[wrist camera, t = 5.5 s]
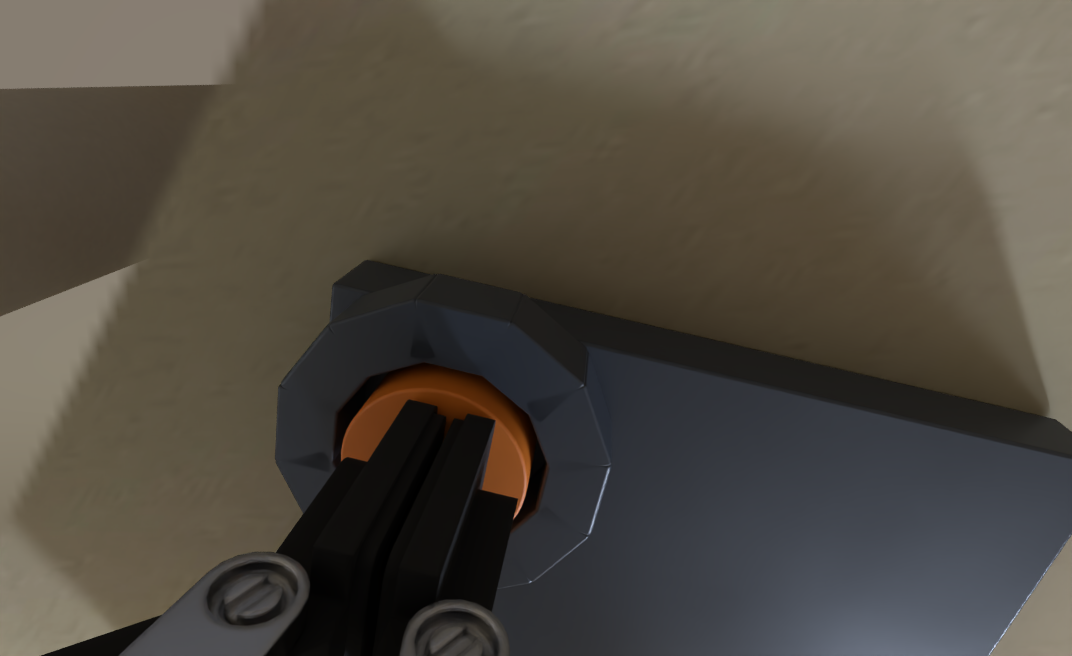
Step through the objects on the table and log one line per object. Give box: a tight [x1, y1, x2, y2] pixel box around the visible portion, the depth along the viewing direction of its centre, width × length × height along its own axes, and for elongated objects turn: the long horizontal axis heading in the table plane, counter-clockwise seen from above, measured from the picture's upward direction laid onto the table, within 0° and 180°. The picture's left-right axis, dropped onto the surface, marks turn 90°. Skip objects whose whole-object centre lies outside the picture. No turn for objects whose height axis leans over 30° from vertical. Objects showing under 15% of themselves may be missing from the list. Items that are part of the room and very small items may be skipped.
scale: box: [275, 260, 1072, 656], centre depth 15 cm, size 16×14×4 cm
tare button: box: [341, 362, 537, 520], centre depth 13 cm, size 4×4×2 cm
